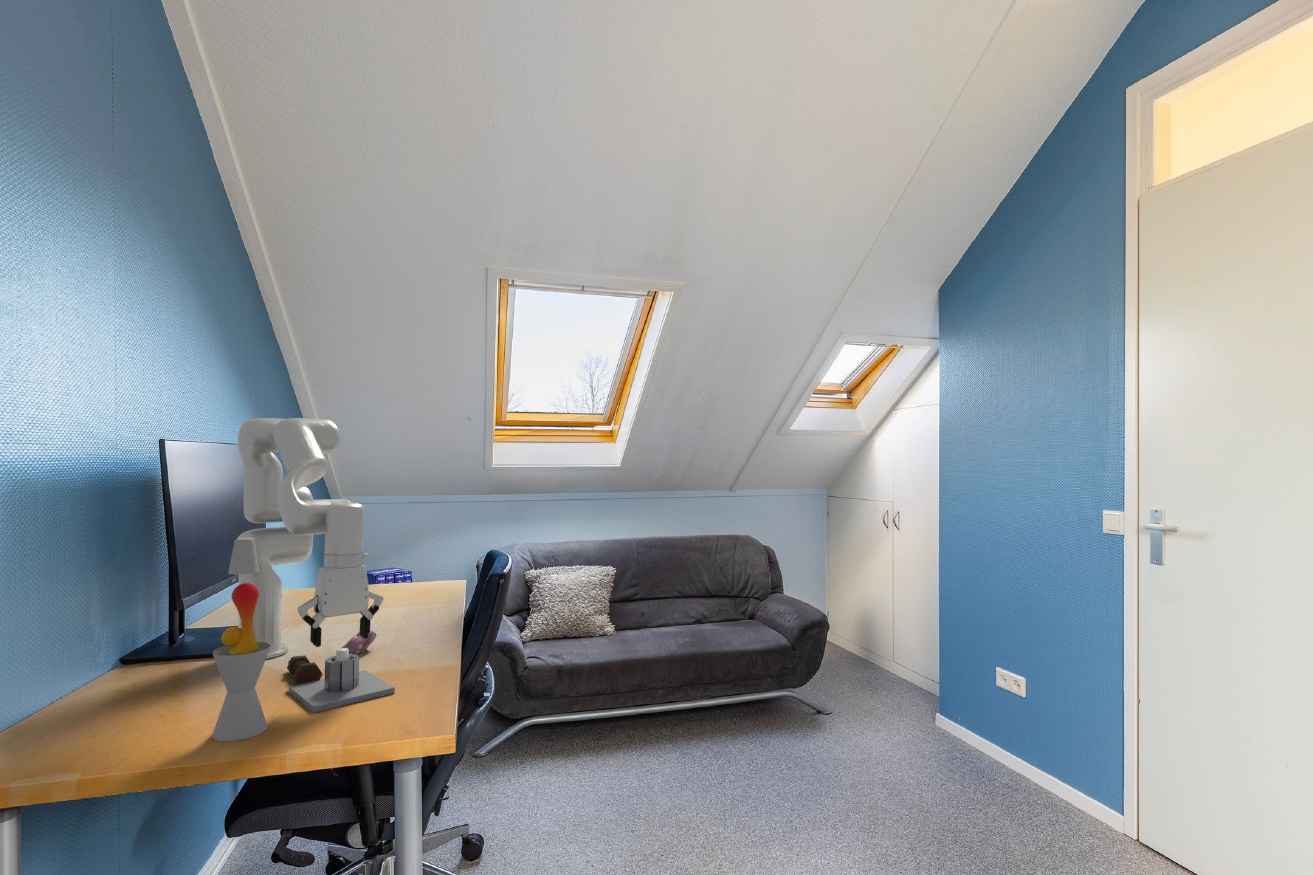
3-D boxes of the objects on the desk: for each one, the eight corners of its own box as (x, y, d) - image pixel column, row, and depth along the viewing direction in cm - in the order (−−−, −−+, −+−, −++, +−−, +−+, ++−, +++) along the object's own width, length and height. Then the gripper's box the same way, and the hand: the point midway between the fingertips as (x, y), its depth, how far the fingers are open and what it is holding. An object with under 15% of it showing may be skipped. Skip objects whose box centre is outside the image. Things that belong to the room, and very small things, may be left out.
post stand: (288, 692, 144) (289, 649, 144) (365, 675, 155) (366, 635, 155) (313, 712, 132) (314, 666, 132) (394, 693, 143) (395, 650, 144)
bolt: (298, 677, 159) (311, 693, 147) (278, 670, 156) (289, 685, 144) (312, 653, 161) (326, 667, 149) (292, 646, 158) (304, 659, 146)
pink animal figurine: (349, 665, 167) (361, 640, 167) (333, 656, 167) (346, 631, 167) (370, 654, 177) (382, 630, 176) (356, 645, 177) (368, 622, 177)
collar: (321, 686, 144) (321, 658, 144) (351, 680, 148) (351, 652, 148) (331, 694, 139) (332, 664, 139) (362, 687, 143) (362, 658, 144)
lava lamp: (272, 718, 129) (275, 534, 130) (264, 736, 121) (268, 540, 122) (216, 725, 126) (221, 536, 127) (205, 744, 117) (209, 542, 118)
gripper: (377, 554, 153) (374, 630, 153) (293, 562, 141) (290, 644, 141) (390, 559, 148) (388, 637, 148) (305, 568, 136) (302, 653, 136)
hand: (340, 641), depth 144 cm, fingers open, 9 cm apart
